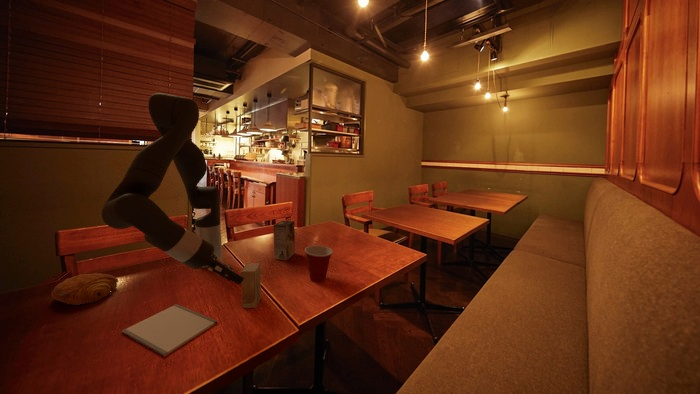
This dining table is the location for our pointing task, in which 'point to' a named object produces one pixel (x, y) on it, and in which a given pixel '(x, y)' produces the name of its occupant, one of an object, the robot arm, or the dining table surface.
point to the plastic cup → (318, 262)
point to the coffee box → (284, 240)
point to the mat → (169, 329)
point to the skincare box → (251, 285)
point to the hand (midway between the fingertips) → (235, 276)
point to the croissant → (84, 288)
